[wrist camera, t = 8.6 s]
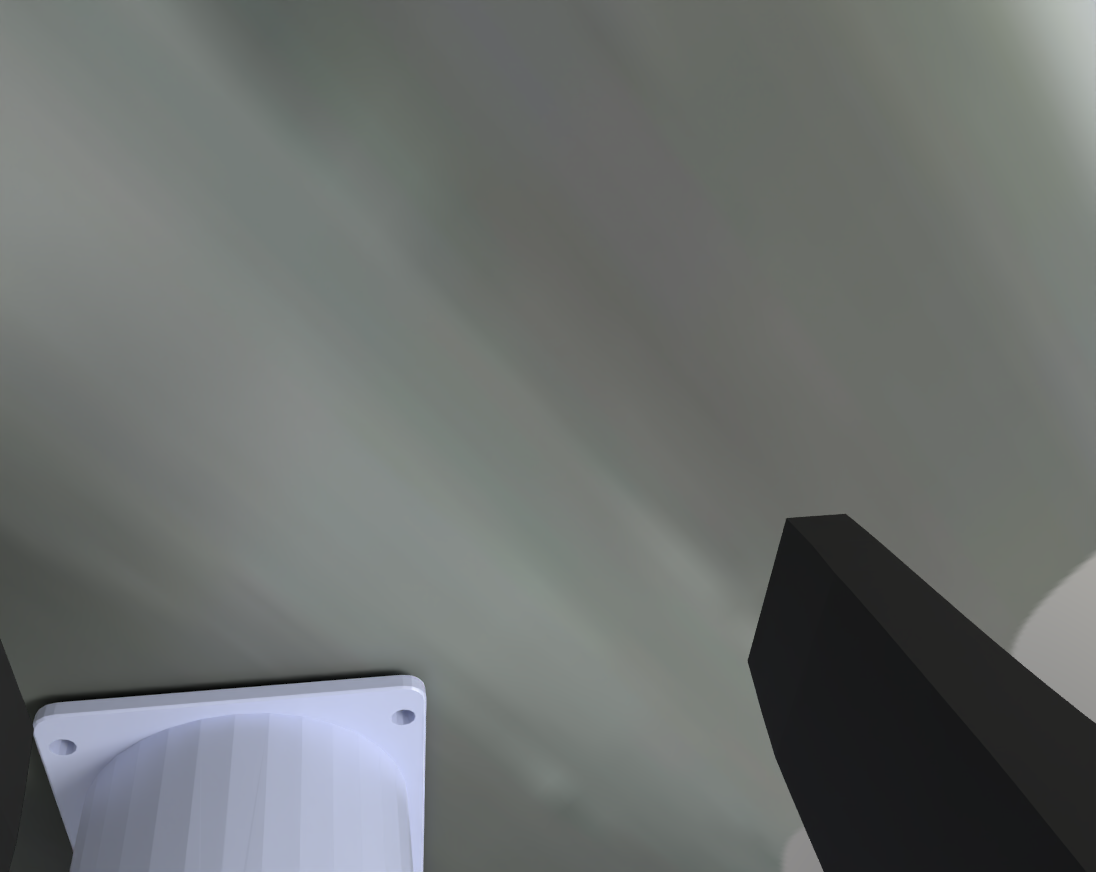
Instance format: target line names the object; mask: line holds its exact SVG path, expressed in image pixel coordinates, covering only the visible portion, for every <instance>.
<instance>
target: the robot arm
mask: <svg viewBox="0 0 1096 872" xmlns="http://www.w3.org/2000/svg"><path fill="white" fill-rule="evenodd" d="M748 664H749V668H750V671H751V675H752V679H753V682H754V686H755V689H756V693H757V697H758V700H759V704H760V708H761V711H762V715H763V718H764V722H765V725H766V728H767V731H768V735H769V738H770V741H771V745H772V748H773V751H774V754H775V758H776V760H777V762H778V765H779V767H780V770H781V772H782V775H783V777H784V780H785V782H786V784H787V787H788V789H789V791H790V794H791V796H792V799H793V801H794V803H795V806H796V808H797V810H798V813H799V815H800V817H801V820H802V822H803V825H804V827H805V829H806V831H807V834H808V836H809V839H810V841H811V843H812V845H813V848H814V850H815V852H816V855H817V857H818V859H819V862H820V864H821V866H822V869H823V871H824V872H1096V723H1094V722H1093V721H1092V720H1090V719H1089V718H1088V717H1086V716H1085V715H1084V714H1083V713H1081V712H1080V711H1079V710H1077V709H1076V708H1075V707H1074V706H1073V705H1071V704H1070V703H1069V702H1068V701H1066V700H1065V699H1064V698H1062V697H1061V696H1060V695H1059V694H1058V693H1056V692H1055V691H1054V690H1053V689H1051V688H1050V687H1049V686H1047V685H1046V684H1045V683H1044V682H1043V681H1041V680H1040V679H1039V678H1038V677H1036V676H1035V675H1034V674H1033V673H1032V672H1030V671H1029V670H1028V669H1027V668H1025V667H1024V666H1023V665H1022V664H1021V663H1019V662H1018V661H1017V660H1016V659H1015V658H1014V657H1012V656H1011V655H1010V654H1009V653H1008V652H1006V651H1005V650H1004V649H1003V648H1002V647H1000V646H999V645H998V644H997V643H996V642H994V641H993V640H992V639H991V638H990V637H989V636H987V635H986V634H985V633H984V632H983V631H981V630H980V629H979V628H978V627H977V626H976V625H974V624H973V623H972V622H971V621H970V620H969V619H967V618H966V617H965V616H964V615H963V614H962V613H960V612H959V611H958V610H957V609H956V608H955V607H954V606H952V605H951V604H950V603H949V602H948V601H947V600H946V599H944V598H943V597H942V596H941V595H940V594H939V593H937V592H936V591H935V590H934V589H933V588H932V587H931V586H929V585H928V584H927V583H926V582H925V581H924V580H923V579H921V578H920V577H919V576H918V575H917V574H916V573H915V572H913V571H912V570H911V569H910V568H909V567H908V566H906V565H905V564H904V563H903V562H902V561H901V560H900V559H898V558H897V557H896V556H895V555H894V554H893V553H892V552H890V551H889V550H888V549H887V548H886V547H885V546H884V545H882V544H881V543H880V542H879V541H878V540H877V539H875V538H874V537H873V536H872V535H871V534H869V533H868V532H867V531H866V530H865V529H864V528H862V527H861V526H860V525H859V524H858V523H856V522H855V521H854V520H853V519H851V518H850V517H849V516H848V515H846V514H838V515H824V516H810V517H796V518H786V522H785V525H784V529H783V533H782V536H781V540H780V544H779V547H778V551H777V555H776V559H775V562H774V566H773V570H772V573H771V577H770V581H769V584H768V588H767V592H766V595H765V599H764V603H763V606H762V610H761V614H760V617H759V621H758V625H757V628H756V632H755V636H754V639H753V643H752V647H751V650H750V654H749V658H748ZM402 710H403V711H402ZM33 736H34V739H35V742H36V745H37V748H38V751H39V754H40V756H41V759H42V762H43V765H44V768H45V771H46V774H47V777H48V780H49V782H50V785H51V788H52V791H53V794H54V797H55V800H56V803H57V806H58V808H59V811H60V814H61V817H62V820H63V823H64V826H65V829H66V832H67V834H68V837H69V840H70V843H71V846H72V849H73V857H72V862H71V867H70V872H423V849H424V796H425V742H426V691H425V686H424V682H422V681H421V680H420V679H419V678H417V677H414V676H411V675H392V676H380V677H367V678H355V679H342V680H330V681H318V682H305V683H293V684H280V685H268V686H255V687H243V688H230V689H218V690H205V691H193V692H180V693H168V694H156V695H143V696H131V697H118V698H106V699H93V700H81V701H68V702H57V703H52V704H48V705H45V706H44V707H42V708H40V709H39V710H38V711H37V713H36V714H35V718H34V722H33V725H32V722H31V719H30V717H29V714H28V711H27V709H26V706H25V703H24V701H23V698H22V695H21V693H20V690H19V687H18V685H17V682H16V679H15V677H14V674H13V671H12V669H11V666H10V663H9V661H8V658H7V655H6V653H5V650H4V647H3V645H2V642H1V639H0V872H9V868H10V864H11V861H12V857H13V853H14V850H15V846H16V842H17V836H18V830H19V824H20V818H21V813H22V807H23V801H24V795H25V789H26V782H27V775H28V768H29V761H30V754H31V747H32V740H33Z"/></svg>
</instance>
